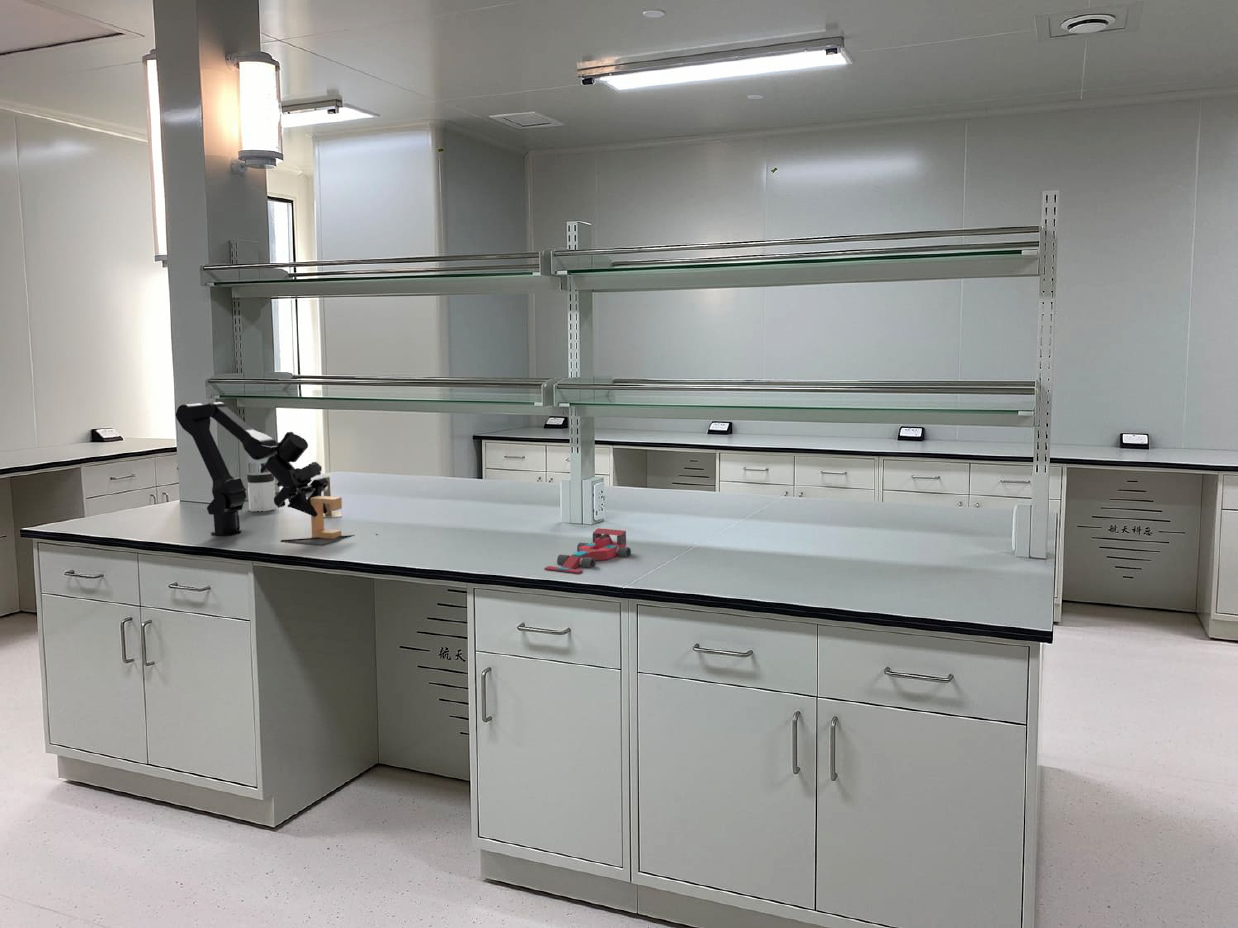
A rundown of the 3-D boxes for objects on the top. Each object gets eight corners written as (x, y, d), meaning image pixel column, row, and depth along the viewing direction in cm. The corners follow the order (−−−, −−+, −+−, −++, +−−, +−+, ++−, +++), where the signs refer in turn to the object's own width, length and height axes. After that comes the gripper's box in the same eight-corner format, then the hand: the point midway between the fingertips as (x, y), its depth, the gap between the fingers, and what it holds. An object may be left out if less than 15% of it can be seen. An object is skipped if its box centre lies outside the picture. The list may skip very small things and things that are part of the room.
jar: (243, 511, 314) (240, 475, 313) (255, 507, 323) (252, 471, 321) (270, 511, 314) (267, 475, 312) (281, 507, 322) (278, 471, 320)
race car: (534, 546, 232) (588, 527, 254) (535, 571, 233) (588, 549, 255) (586, 552, 225) (636, 531, 247) (586, 577, 226) (636, 554, 248)
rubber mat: (322, 545, 262) (322, 543, 262) (281, 542, 267) (281, 540, 267) (355, 535, 275) (355, 533, 275) (315, 532, 280) (315, 530, 280)
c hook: (312, 537, 269) (310, 498, 268) (320, 534, 273) (319, 495, 271) (334, 539, 267) (333, 499, 266) (342, 536, 271) (341, 497, 269)
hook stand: (313, 529, 284) (310, 485, 282) (315, 517, 303) (312, 475, 301) (341, 527, 286) (339, 483, 284) (342, 515, 305) (339, 474, 303)
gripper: (280, 458, 260) (318, 500, 258) (321, 449, 278) (357, 489, 276) (257, 486, 264) (294, 528, 262) (299, 476, 281) (334, 515, 279)
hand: (321, 514), depth 270 cm, fingers open, 4 cm apart
